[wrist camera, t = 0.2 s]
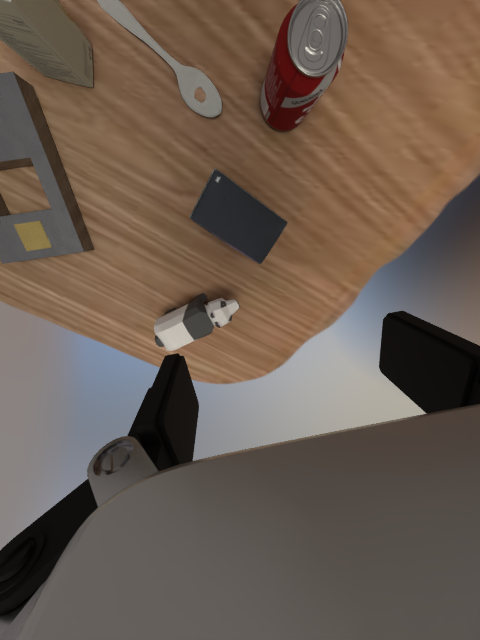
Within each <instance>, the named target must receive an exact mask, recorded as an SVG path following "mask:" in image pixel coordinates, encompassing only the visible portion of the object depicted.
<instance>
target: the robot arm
mask: <svg viewBox="0 0 480 640" xmlns="http://www.w3.org/2000/svg"><path fill="white" fill-rule="evenodd" d="M379 368H380V371H381V372H382V374H384V375H385V376H386V377H387V378H388V379H389V380H390V381H391V382H392V383H394V384H395V385H396V386H397V387H398V388H399V389H400V390H401V391H402V392H403V393H405V394H406V395H407V396H408V397H409V398H410V399H411V400H412V401H413V402H415V403H416V404H417V405H418V406H419V407H420V408H421V409H422V410H423V411H425V412H426V413H427V414H423V415H418V416H413V417H408V418H402V419H397V420H392V421H387V422H381V423H376V424H371V425H366V426H361V427H356V428H351V429H346V430H340V431H335V432H330V433H325V434H320V435H315V436H310V437H305V438H300V439H295V440H290V441H285V442H280V443H275V444H270V445H265V446H260V447H255V448H250V449H245V450H240V451H236V452H231V453H226V454H222V455H217V456H213V457H208V458H204V459H200V460H196V461H193V452H194V444H195V435H196V428H197V419H198V410H199V405H198V399H197V396H196V393H195V390H194V387H193V383H192V380H191V377H190V374H189V371H188V367H187V364H186V361H185V358H184V356H180V355H179V354H178V353H177V354H172V355H167V356H165V358H164V360H163V362H162V365H161V367H160V369H159V372H158V374H157V376H156V378H155V381H154V383H153V386H152V387H151V388H149V389H148V391H147V393H146V395H145V398H144V400H143V402H142V404H141V407H140V409H139V411H138V413H137V416H136V418H135V420H134V422H133V424H132V427H131V429H130V431H129V434H128V436H125V437H120V438H117V439H115V440H113V441H111V442H109V443H108V444H106V445H105V446H104V447H102V448H101V449H100V450H99V451H98V453H96V454H95V455H94V457H93V458H92V460H91V462H90V463H89V466H88V469H87V476H88V479H87V480H86V481H85V482H83V483H82V484H81V485H80V486H78V487H77V488H76V489H75V490H73V491H72V492H71V493H70V494H68V495H67V496H66V497H65V498H63V499H62V500H61V501H60V502H58V503H57V504H56V505H55V506H53V507H52V508H51V509H50V510H48V511H47V512H46V513H45V514H43V515H42V516H41V517H40V518H38V519H37V520H36V521H35V522H33V523H32V524H31V525H30V526H28V527H27V528H26V529H25V530H23V531H22V532H21V533H20V534H18V535H17V536H16V537H15V538H13V539H12V540H11V541H10V542H9V543H8V544H7V545H6V546H5V547H3V548H2V550H1V551H0V640H480V346H479V345H477V344H474V343H472V342H470V341H468V340H466V339H463V338H461V337H459V336H457V335H455V334H452V333H450V332H448V331H446V330H444V329H442V328H439V327H437V326H435V325H433V324H431V323H429V322H426V321H424V320H422V319H420V318H418V317H415V316H413V315H411V314H409V313H407V312H404V311H399V312H393V313H388V314H387V316H386V317H385V318H384V319H383V327H382V339H381V350H380V362H379Z"/></svg>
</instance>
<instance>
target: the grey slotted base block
mask: <svg viewBox="0 0 480 640" xmlns="http://www.w3.org/2000/svg"><path fill="white" fill-rule="evenodd" d="M33 165H34V168H35V170H36V172H37V175H38V177H39V180H40V182H41V184H42V187H43V189H44V191H45V194H46V196H47V199H48V201H49V203H50V206H51V208H52V209H49V210H42V211H35V212H28V213H22V214H15V215H10V213H9V211H8V209H7V207H6V205H5V203H4V201H3V199H2V197H1V195H0V260H1V262H2V264H4V263H11V262H17V261H24V260H31V259H37V258H44V257H51V256H57V255H64V254H71V253H77V252H84V251H90V250H94V248H93V245H92V242H91V240H90V237H89V234H88V232H87V229H86V226H85V224H84V221H83V218H82V216H81V213H80V210H79V208H78V205H77V202H76V200H75V197H74V194H73V192H72V189H71V186H70V184H69V181H68V178H67V176H66V173H65V170H64V168H63V165H62V162H61V160H60V157H59V154H58V152H57V149H56V146H55V144H54V141H53V138H52V136H51V133H50V130H49V128H48V125H47V122H46V120H45V117H44V114H43V112H42V109H41V106H40V104H39V101H38V98H37V96H36V93H35V90H34V88H33V86H31V85H30V84H29V83H27V82H26V81H25V80H23V79H22V78H21V77H19V76H18V75H17V74H15V73H14V72H8V73H0V170H5V169H12V168H19V167H26V166H33Z"/></svg>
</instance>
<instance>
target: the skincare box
mask: <svg viewBox="0 0 480 640" xmlns="http://www.w3.org/2000/svg"><path fill="white" fill-rule="evenodd" d="M0 40H2V41H3V42H4V43H5V44H6V45H8V46H9V47H10V48H11V49H12V50H14V51H15V52H16V53H17V54H18V55H20V56H21V57H22V58H23V59H24V60H26V61H27V62H28V63H29V64H30V65H32V66H33V67H34V68H35V69H36V70H38V71H39V72H40V73H41V74H42V75H44V76H47V77H50V78H54V79H57V80H61V81H65V82H69V83H73V84H77V85H82V86H86V87H91V88H93V61H92V47H91V44H90V42H89V41H88V40H87V38H86V37H85V36H84V34H83V33H82V32H81V30H80V29H79V28H78V26H77V25H76V24H75V22H74V21H73V20H72V18H71V17H70V16H69V14H68V13H67V12H66V10H65V9H64V8H63V6H62V5H61V4H60V2H59V1H58V0H0Z"/></svg>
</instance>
